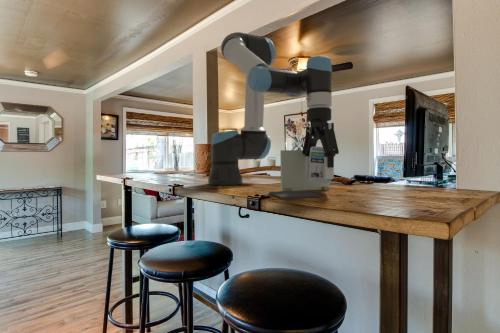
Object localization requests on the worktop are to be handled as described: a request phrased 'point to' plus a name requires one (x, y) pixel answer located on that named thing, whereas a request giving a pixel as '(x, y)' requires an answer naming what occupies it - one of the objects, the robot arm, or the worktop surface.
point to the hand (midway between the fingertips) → (318, 177)
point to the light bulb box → (317, 165)
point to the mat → (294, 194)
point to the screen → (296, 172)
